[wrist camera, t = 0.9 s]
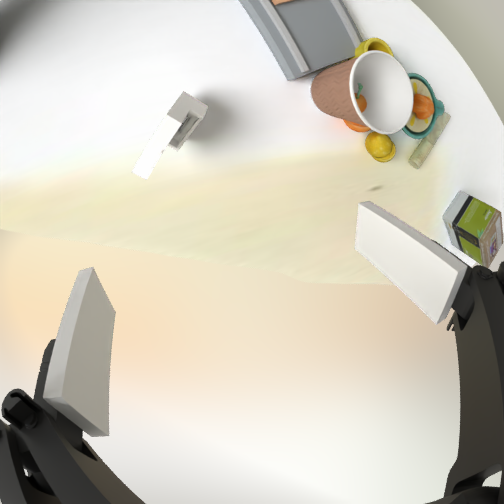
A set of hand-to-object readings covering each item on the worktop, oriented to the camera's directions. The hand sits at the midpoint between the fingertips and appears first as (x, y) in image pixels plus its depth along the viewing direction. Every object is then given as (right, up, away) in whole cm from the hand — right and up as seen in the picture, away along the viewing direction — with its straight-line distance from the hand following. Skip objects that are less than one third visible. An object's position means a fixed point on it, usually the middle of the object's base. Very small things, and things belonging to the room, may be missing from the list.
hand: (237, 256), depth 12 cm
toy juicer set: (+26, +24, +26) cm, 44 cm away
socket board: (+6, +35, +13) cm, 38 cm away
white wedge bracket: (-10, +16, +19) cm, 26 cm away
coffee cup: (+12, +24, +21) cm, 34 cm away
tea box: (+56, +9, +45) cm, 73 cm away
